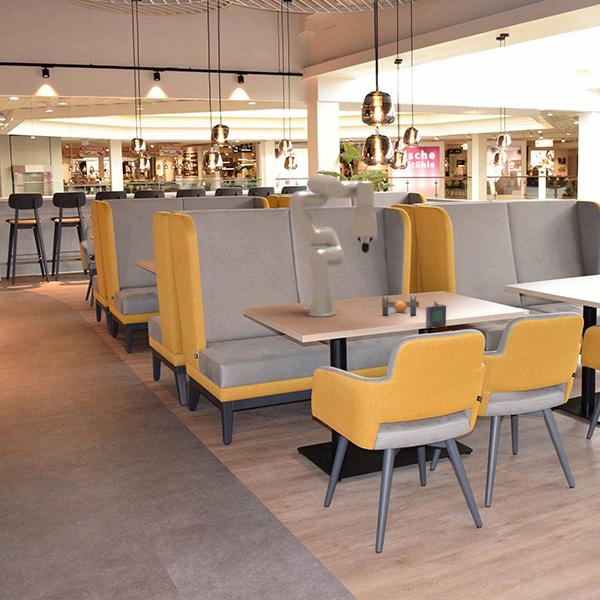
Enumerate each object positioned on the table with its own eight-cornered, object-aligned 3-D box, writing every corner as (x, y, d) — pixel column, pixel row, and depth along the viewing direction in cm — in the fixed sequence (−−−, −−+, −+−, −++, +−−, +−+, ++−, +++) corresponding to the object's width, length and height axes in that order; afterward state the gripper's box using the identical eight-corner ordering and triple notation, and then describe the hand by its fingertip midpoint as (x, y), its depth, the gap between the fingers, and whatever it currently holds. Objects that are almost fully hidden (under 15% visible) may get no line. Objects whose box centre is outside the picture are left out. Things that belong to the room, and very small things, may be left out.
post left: (382, 316, 363) (382, 297, 362) (382, 315, 366) (382, 296, 364) (388, 316, 363) (387, 297, 361) (388, 315, 365) (388, 296, 364)
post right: (410, 316, 361) (410, 297, 360) (410, 315, 364) (410, 296, 362) (416, 316, 361) (416, 297, 360) (416, 315, 363) (416, 296, 362)
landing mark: (384, 313, 371) (384, 313, 371) (385, 308, 385) (385, 308, 385) (414, 313, 369) (414, 313, 369) (414, 308, 383) (414, 308, 383)
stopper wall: (382, 306, 391) (382, 301, 391) (382, 306, 393) (382, 301, 393) (419, 306, 388) (419, 301, 388) (419, 306, 390) (419, 301, 390)
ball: (394, 298, 372) (395, 306, 377) (393, 307, 369) (394, 315, 373) (406, 298, 371) (407, 306, 375) (405, 307, 367) (406, 315, 372)
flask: (427, 327, 334) (427, 302, 332) (424, 326, 336) (424, 301, 335) (447, 326, 337) (447, 301, 335) (443, 325, 339) (443, 300, 338)
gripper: (346, 210, 337) (347, 253, 340) (382, 210, 335) (382, 253, 337) (348, 209, 344) (348, 252, 347) (382, 209, 342) (383, 251, 345)
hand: (365, 252), depth 342 cm, fingers closed
